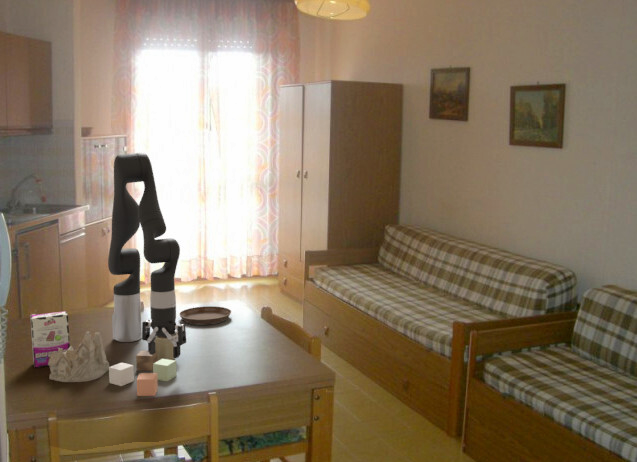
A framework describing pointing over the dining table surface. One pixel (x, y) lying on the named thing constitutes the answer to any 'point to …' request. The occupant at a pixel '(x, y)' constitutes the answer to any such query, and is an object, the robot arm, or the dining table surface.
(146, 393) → the terracotta cube
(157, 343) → the flower pot
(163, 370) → the sage cube
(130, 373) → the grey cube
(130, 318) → the robot arm
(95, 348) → the ceramic cottage
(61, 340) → the candy bar box
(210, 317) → the plant saucer
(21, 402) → the dining table surface
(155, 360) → the walnut cube
